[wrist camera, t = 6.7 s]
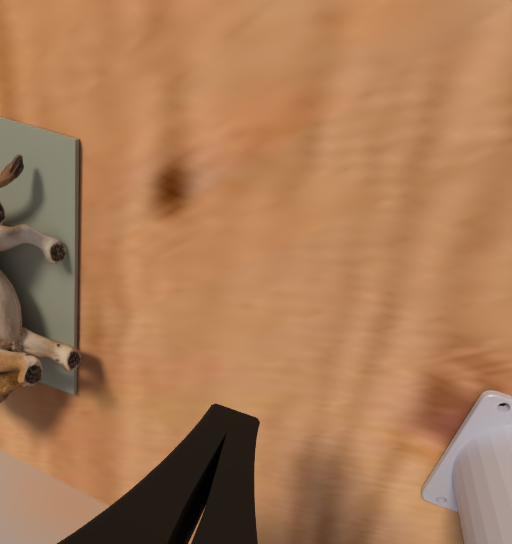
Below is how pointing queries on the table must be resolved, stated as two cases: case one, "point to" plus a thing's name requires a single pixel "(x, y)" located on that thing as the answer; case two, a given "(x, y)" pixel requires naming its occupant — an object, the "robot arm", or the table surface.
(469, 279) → the table surface
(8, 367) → the lion figurine
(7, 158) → the mat
